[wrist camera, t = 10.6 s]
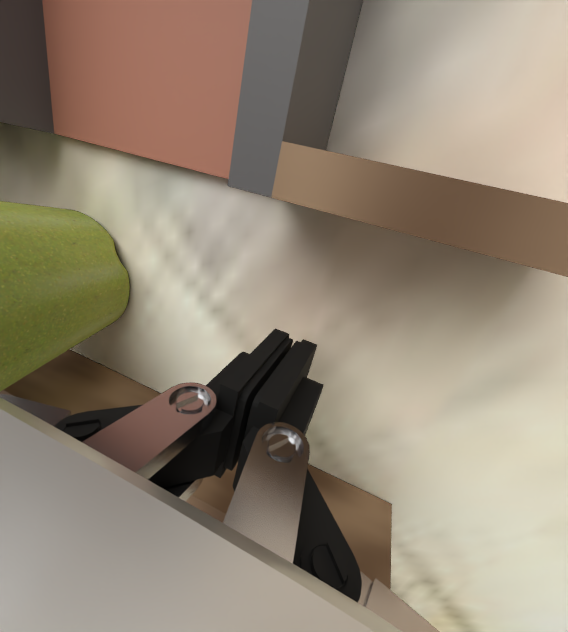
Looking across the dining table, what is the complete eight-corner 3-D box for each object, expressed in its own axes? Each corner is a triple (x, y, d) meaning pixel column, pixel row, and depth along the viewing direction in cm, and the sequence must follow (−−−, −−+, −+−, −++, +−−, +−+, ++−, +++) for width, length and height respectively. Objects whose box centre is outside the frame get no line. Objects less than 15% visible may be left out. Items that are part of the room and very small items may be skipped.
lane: (562, 219, 8) (843, 239, 3) (382, 519, 14) (374, 701, 9) (-57, 77, 15) (-315, 3, 9) (-4, 328, 21) (-143, 370, 15)
